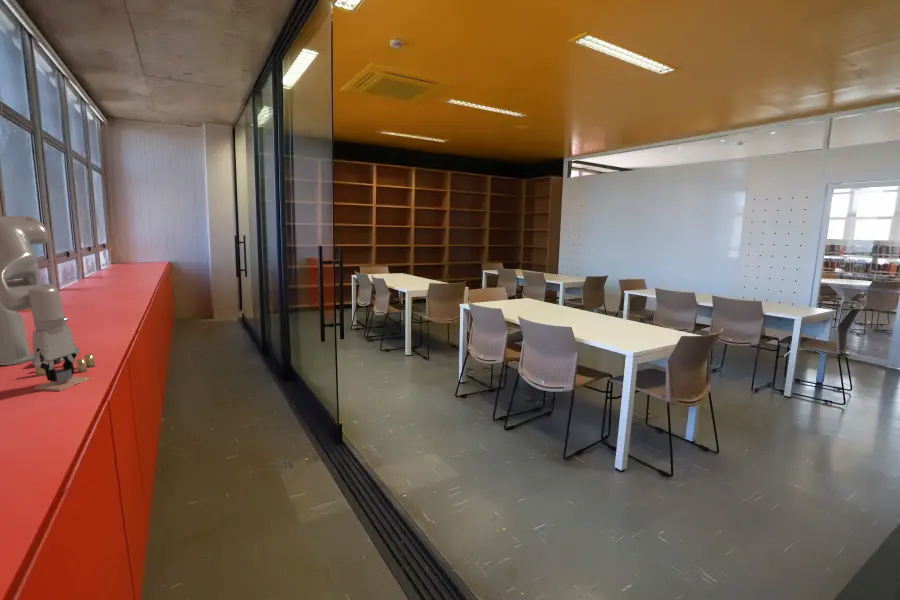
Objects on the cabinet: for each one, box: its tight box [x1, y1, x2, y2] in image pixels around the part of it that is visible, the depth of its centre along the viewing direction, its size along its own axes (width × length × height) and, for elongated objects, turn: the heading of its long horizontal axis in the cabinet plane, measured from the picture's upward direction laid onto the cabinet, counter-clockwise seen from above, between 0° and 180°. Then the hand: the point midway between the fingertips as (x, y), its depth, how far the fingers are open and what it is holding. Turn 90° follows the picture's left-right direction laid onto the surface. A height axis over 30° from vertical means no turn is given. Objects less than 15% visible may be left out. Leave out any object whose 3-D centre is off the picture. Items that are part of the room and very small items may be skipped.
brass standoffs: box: [33, 353, 96, 377], centre depth 162 cm, size 16×12×4 cm
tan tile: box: [34, 376, 91, 392], centre depth 148 cm, size 10×10×1 cm
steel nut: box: [50, 367, 74, 382], centre depth 148 cm, size 6×5×3 cm
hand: (61, 376), depth 148 cm, fingers closed on steel nut, 4 cm apart
